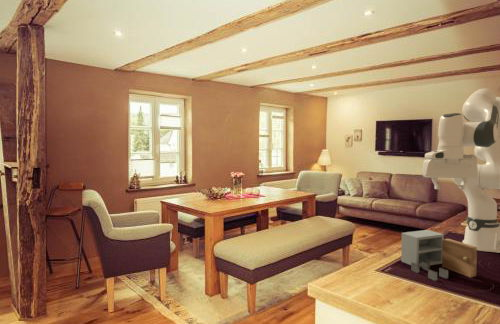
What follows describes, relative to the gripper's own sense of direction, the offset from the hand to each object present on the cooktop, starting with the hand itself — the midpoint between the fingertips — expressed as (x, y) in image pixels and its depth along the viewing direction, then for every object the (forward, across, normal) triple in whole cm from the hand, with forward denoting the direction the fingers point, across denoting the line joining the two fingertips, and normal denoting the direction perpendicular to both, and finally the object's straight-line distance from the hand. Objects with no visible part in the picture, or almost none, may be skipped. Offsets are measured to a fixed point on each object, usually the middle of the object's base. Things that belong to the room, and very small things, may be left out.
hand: (449, 189), depth 135 cm
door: (+31, -2, +5) cm, 31 cm away
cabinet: (+31, +8, -5) cm, 32 cm away
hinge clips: (+31, +11, +8) cm, 34 cm away
